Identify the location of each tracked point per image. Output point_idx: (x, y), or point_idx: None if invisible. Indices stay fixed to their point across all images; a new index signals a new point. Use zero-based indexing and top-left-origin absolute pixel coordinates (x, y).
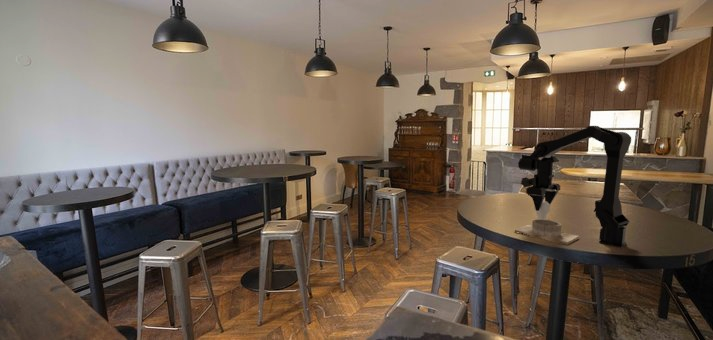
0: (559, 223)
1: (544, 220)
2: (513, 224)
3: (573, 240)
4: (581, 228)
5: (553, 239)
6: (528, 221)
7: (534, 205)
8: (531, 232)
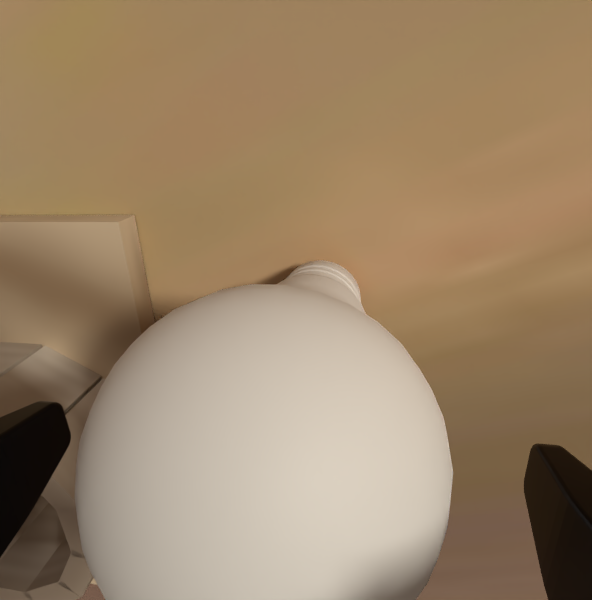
0: (63, 595)
1: None
2: (78, 16)
3: None
4: None
5: None
6: (414, 66)
7: (140, 346)
8: None
